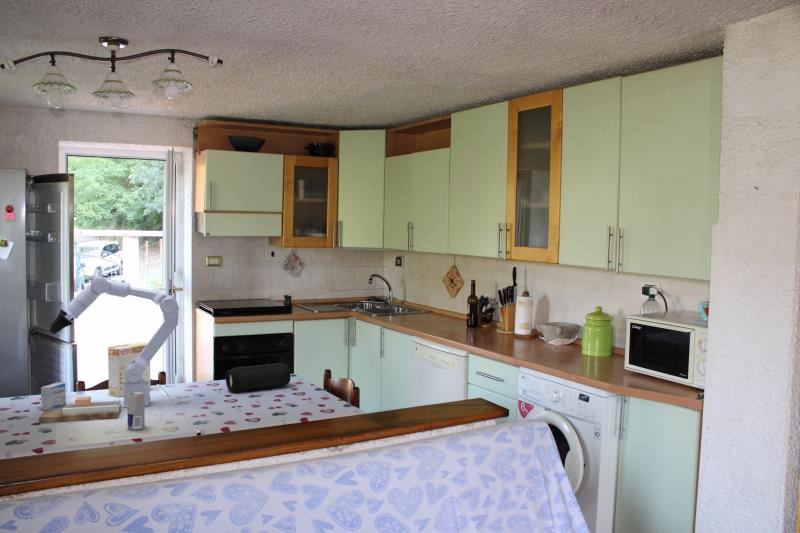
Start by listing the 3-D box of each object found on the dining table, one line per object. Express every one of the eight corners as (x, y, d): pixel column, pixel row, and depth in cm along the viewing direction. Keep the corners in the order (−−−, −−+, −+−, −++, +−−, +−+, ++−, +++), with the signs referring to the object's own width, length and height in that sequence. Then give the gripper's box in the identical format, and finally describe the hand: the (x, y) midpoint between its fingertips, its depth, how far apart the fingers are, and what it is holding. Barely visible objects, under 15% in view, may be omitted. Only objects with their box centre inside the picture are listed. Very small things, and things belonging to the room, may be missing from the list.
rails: (120, 405, 252) (120, 400, 252) (118, 411, 244) (118, 405, 244) (66, 408, 247) (66, 403, 247) (62, 414, 239) (62, 409, 239)
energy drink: (130, 425, 234) (130, 391, 233) (146, 425, 234) (146, 390, 234) (125, 430, 228) (125, 394, 228) (142, 430, 229) (141, 394, 228)
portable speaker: (282, 383, 300) (282, 360, 300) (291, 388, 292) (291, 364, 292) (225, 390, 287) (225, 366, 286) (233, 395, 278) (233, 370, 278)
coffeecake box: (141, 387, 288) (140, 341, 287) (151, 390, 284) (150, 343, 283) (107, 394, 276) (107, 346, 275) (117, 397, 272) (117, 348, 271)
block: (90, 408, 248) (90, 396, 247) (89, 411, 243) (88, 399, 243) (77, 409, 246) (77, 396, 246) (75, 412, 242) (75, 400, 242)
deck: (121, 409, 254) (120, 404, 254) (117, 418, 243) (117, 412, 243) (46, 414, 247) (45, 408, 247) (39, 423, 235) (39, 417, 235)
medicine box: (51, 410, 251) (51, 387, 251) (41, 410, 252) (40, 386, 252) (66, 405, 259) (65, 382, 259) (55, 404, 260) (55, 382, 259)
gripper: (72, 292, 257) (44, 319, 254) (71, 298, 244) (42, 326, 241) (87, 305, 260) (59, 332, 257) (87, 311, 247) (58, 339, 244)
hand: (52, 330), depth 249 cm, fingers open, 7 cm apart
